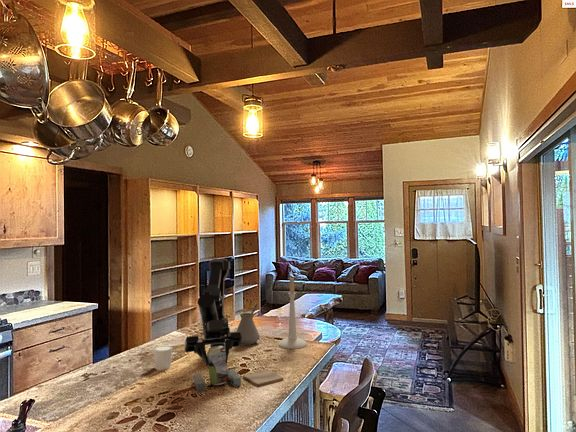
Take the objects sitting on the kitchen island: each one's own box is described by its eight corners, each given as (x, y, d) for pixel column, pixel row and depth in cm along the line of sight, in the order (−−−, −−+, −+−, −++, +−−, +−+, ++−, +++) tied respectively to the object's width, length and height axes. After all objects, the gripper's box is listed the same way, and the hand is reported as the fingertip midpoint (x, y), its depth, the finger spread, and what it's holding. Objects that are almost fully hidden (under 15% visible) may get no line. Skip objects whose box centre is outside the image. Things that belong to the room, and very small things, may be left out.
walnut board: (243, 377, 136) (243, 375, 136) (267, 371, 142) (267, 369, 142) (258, 386, 128) (257, 384, 128) (283, 379, 134) (283, 377, 134)
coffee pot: (255, 347, 173) (254, 312, 174) (230, 345, 176) (230, 311, 176) (268, 334, 194) (268, 304, 195) (246, 333, 196) (246, 303, 197)
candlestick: (301, 350, 168) (300, 278, 169) (273, 347, 172) (273, 278, 174) (310, 342, 180) (309, 275, 181) (284, 339, 184) (283, 275, 186)
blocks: (193, 382, 132) (193, 374, 132) (233, 376, 137) (233, 369, 137) (198, 392, 124) (198, 384, 124) (240, 385, 129) (240, 377, 129)
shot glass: (176, 365, 150) (176, 346, 150) (163, 371, 143) (163, 351, 144) (162, 363, 152) (162, 344, 153) (149, 368, 146) (149, 349, 147)
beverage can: (224, 388, 127) (225, 349, 128) (203, 386, 128) (204, 348, 129) (231, 381, 133) (231, 344, 134) (210, 379, 134) (211, 343, 135)
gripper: (186, 312, 132) (190, 354, 121) (240, 308, 139) (249, 348, 128) (182, 331, 139) (186, 373, 128) (234, 326, 146) (242, 365, 135)
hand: (217, 364), depth 129 cm, fingers closed on beverage can, 6 cm apart
